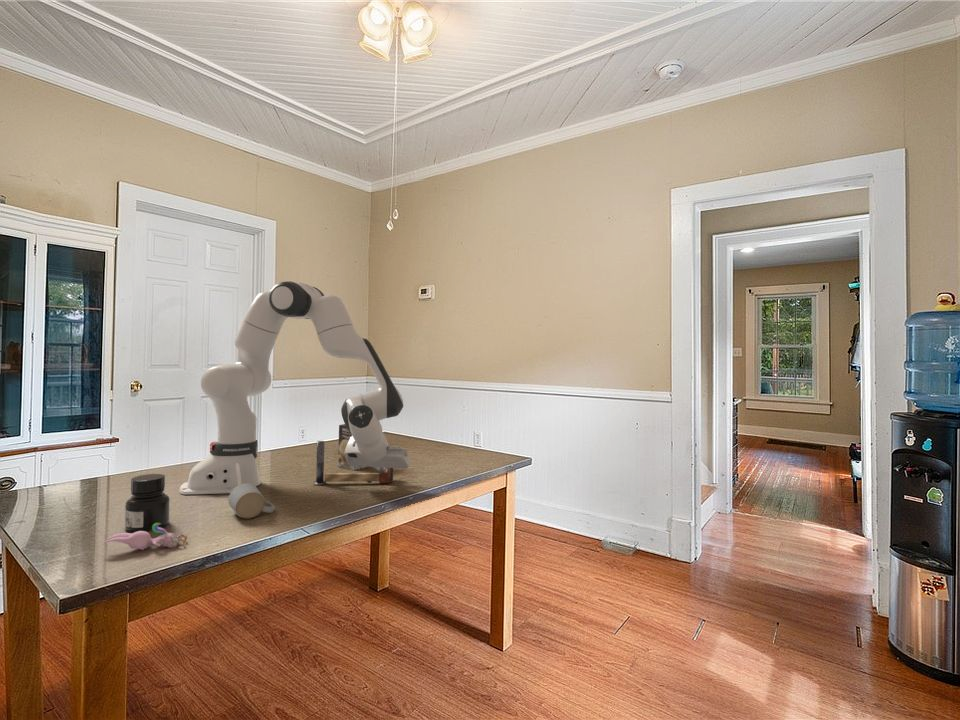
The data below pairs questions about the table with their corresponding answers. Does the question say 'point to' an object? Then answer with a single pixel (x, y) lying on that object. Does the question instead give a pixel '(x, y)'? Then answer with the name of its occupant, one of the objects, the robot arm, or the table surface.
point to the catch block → (391, 474)
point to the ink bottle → (147, 503)
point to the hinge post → (320, 464)
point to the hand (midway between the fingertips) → (383, 470)
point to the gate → (358, 477)
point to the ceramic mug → (248, 501)
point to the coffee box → (343, 440)
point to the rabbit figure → (148, 538)
